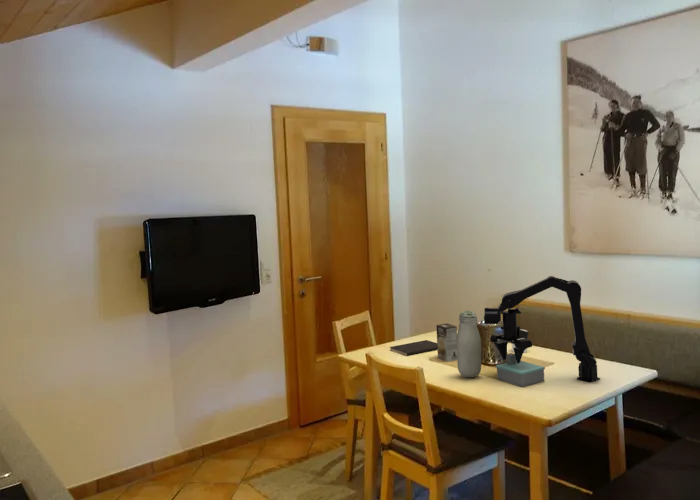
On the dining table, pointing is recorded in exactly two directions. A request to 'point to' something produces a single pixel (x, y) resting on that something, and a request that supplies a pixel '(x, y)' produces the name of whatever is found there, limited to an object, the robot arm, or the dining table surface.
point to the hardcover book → (415, 348)
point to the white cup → (514, 345)
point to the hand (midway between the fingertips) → (511, 361)
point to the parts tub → (520, 377)
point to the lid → (518, 365)
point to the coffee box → (447, 342)
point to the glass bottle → (468, 345)
